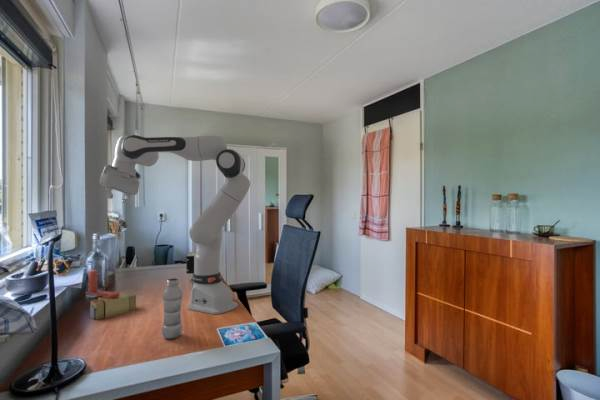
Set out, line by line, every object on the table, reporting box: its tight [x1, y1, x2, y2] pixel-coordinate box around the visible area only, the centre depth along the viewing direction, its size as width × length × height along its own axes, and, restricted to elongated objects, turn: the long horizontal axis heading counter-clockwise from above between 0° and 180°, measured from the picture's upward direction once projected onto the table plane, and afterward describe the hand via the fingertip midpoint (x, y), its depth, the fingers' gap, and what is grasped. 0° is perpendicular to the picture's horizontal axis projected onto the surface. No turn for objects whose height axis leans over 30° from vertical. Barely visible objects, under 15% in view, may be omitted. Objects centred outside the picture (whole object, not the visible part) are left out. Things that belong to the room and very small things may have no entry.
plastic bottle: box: [161, 277, 183, 340], centre depth 108 cm, size 6×7×20 cm
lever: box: [87, 269, 121, 297], centre depth 131 cm, size 14×4×10 cm, turn 81°
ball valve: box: [185, 250, 196, 284], centre depth 178 cm, size 18×8×18 cm, turn 15°
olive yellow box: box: [89, 291, 137, 320], centre depth 130 cm, size 16×8×7 cm, turn 141°
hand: (117, 200), depth 137 cm, fingers open, 8 cm apart
